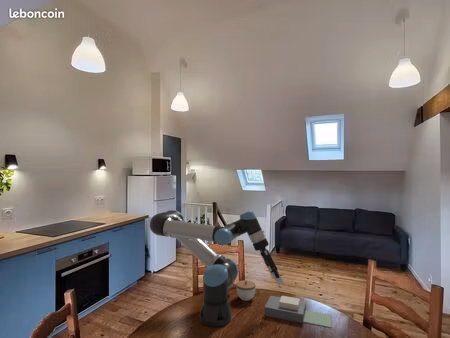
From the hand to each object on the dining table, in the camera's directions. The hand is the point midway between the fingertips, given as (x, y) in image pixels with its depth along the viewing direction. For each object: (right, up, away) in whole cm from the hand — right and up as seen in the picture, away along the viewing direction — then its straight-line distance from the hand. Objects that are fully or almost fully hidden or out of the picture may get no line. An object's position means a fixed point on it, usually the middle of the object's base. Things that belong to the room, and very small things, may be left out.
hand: (278, 281), depth 128 cm
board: (+4, -16, +2) cm, 17 cm away
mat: (+18, -16, -4) cm, 24 cm away
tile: (+6, -12, +1) cm, 14 cm away
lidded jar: (-14, -17, +17) cm, 28 cm away
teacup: (-27, -17, +25) cm, 41 cm away
